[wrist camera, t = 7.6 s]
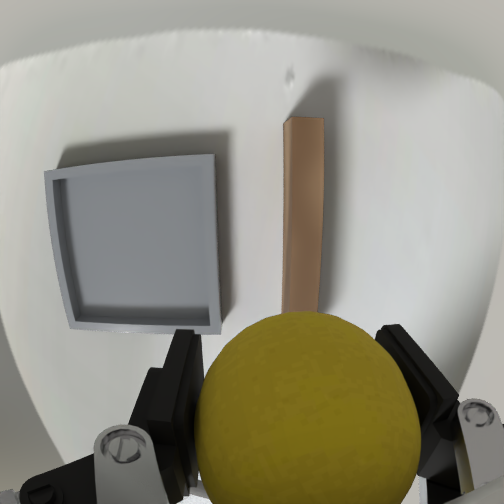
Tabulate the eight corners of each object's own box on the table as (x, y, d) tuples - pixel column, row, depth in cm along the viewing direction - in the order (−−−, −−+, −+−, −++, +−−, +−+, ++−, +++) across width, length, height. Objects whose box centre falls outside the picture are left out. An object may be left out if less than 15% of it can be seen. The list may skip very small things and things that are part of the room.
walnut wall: (309, 124, 22) (323, 118, 18) (303, 341, 27) (311, 368, 23) (283, 123, 22) (291, 116, 18) (280, 343, 27) (286, 370, 23)
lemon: (315, 239, 10) (469, 427, 2) (379, 354, 11) (475, 517, 4) (176, 324, 11) (107, 541, 3) (261, 417, 12) (275, 593, 4)
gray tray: (215, 154, 22) (213, 153, 21) (222, 323, 26) (221, 334, 24) (55, 169, 22) (44, 171, 20) (78, 319, 26) (70, 328, 24)
